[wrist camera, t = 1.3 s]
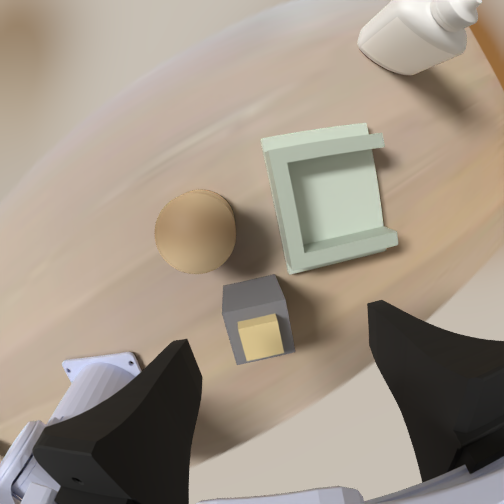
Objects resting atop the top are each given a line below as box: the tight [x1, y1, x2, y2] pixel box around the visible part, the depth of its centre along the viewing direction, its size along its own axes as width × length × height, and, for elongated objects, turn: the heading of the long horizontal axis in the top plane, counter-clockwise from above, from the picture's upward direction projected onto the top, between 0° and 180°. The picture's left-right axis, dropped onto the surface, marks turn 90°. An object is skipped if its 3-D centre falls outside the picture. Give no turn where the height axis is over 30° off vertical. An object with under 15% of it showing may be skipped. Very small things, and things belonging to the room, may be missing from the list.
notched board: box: [260, 123, 398, 275], centre depth 22 cm, size 10×8×3 cm
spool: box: [155, 190, 236, 274], centre depth 21 cm, size 5×5×4 cm
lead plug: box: [222, 274, 295, 365], centre depth 22 cm, size 4×4×6 cm
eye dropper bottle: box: [358, 0, 482, 75], centre depth 15 cm, size 4×6×12 cm
